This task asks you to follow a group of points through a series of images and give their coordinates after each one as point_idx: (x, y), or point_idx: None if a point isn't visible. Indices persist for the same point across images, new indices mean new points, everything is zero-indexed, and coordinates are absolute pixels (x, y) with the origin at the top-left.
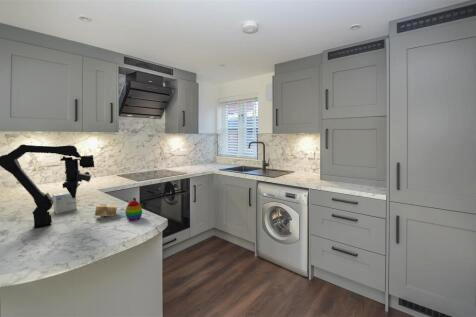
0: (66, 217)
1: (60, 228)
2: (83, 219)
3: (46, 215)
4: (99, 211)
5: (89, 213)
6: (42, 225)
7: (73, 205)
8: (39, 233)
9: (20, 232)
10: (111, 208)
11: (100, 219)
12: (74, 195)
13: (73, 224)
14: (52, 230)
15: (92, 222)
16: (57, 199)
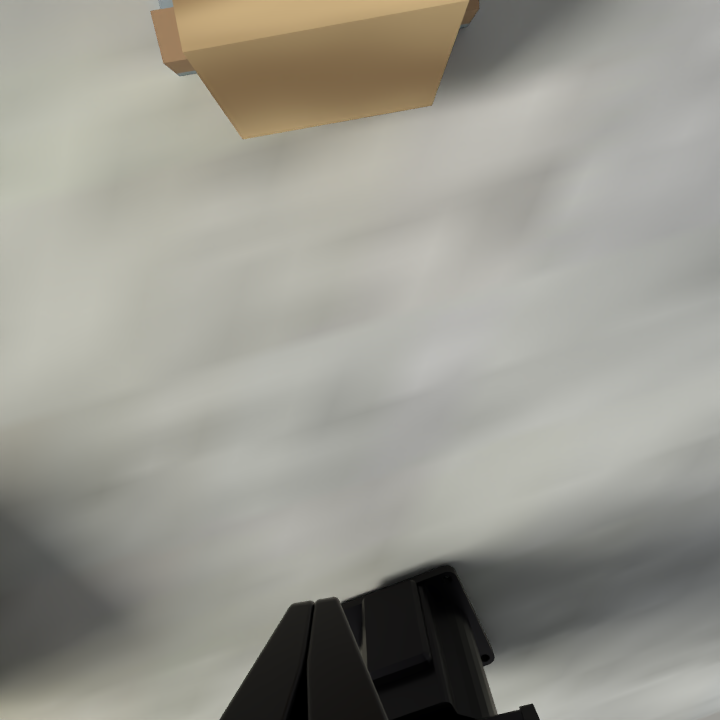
0: (185, 517)
1: (600, 440)
2: (337, 294)
3: (466, 691)
4: None
5: (51, 296)
6: (468, 622)
7: None
8: (662, 563)
9: (550, 702)
10: None
11: (468, 20)
12: (364, 677)
13: (512, 352)
14: (629, 490)
15: (531, 127)
16: None
